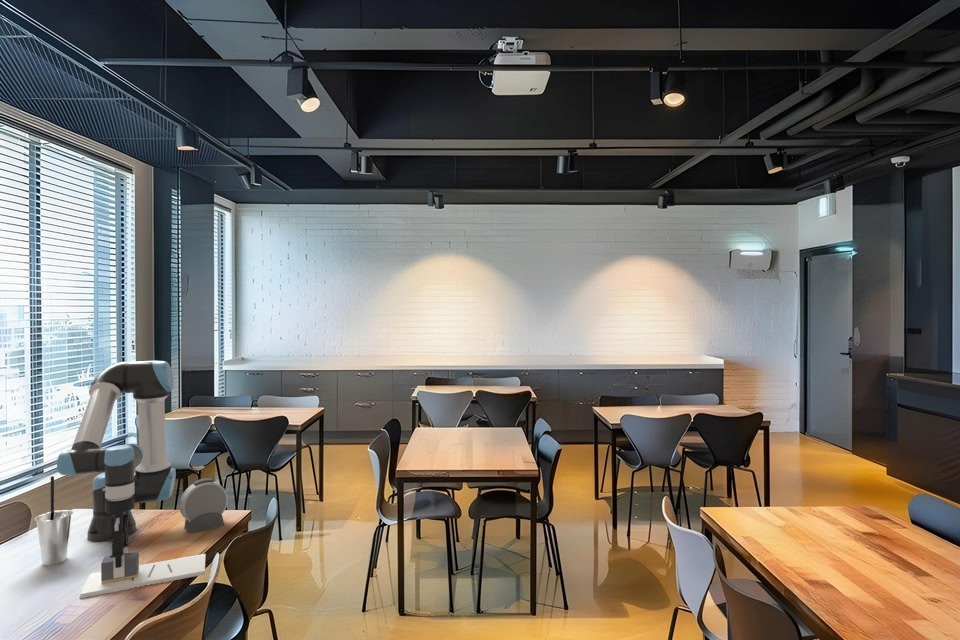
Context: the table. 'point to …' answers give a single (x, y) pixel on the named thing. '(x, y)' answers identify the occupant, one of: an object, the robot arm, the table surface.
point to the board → (148, 575)
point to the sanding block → (129, 564)
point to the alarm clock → (203, 505)
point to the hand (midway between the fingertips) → (120, 572)
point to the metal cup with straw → (54, 533)
